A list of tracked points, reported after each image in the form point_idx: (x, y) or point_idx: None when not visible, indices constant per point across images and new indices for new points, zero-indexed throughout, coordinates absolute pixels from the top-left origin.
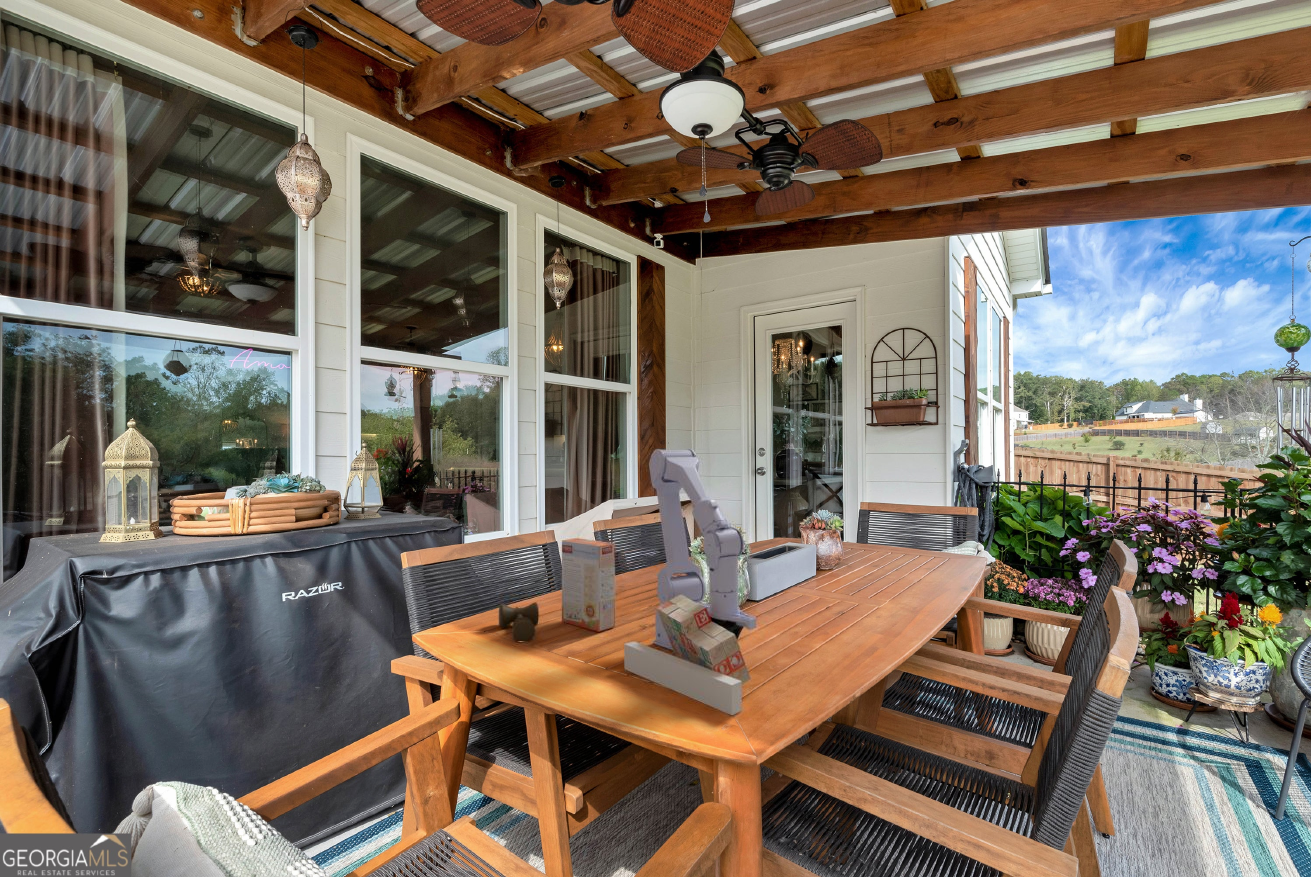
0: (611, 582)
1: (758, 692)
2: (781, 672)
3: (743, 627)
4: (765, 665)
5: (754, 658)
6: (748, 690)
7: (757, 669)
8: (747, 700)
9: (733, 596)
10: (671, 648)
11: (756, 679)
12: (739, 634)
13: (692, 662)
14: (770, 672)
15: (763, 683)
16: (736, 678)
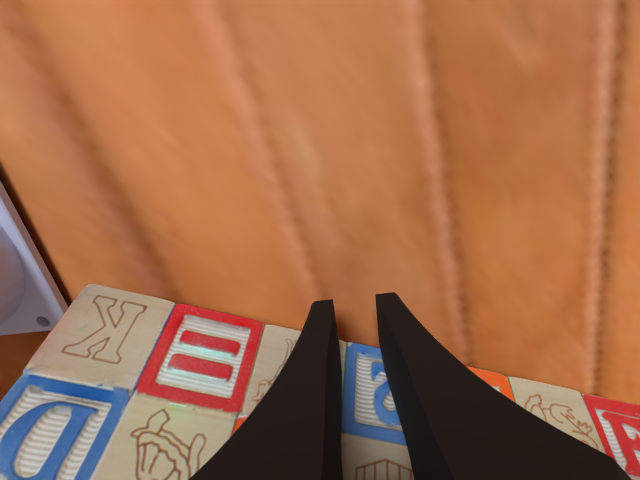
0: None
1: (627, 334)
2: (621, 59)
3: (594, 449)
4: (472, 53)
5: (335, 14)
6: (581, 349)
7: (474, 150)
8: (622, 400)
9: None
10: (2, 333)
11: (548, 251)
12: (503, 398)
13: None
14: (561, 120)
15: (601, 258)
16: None
